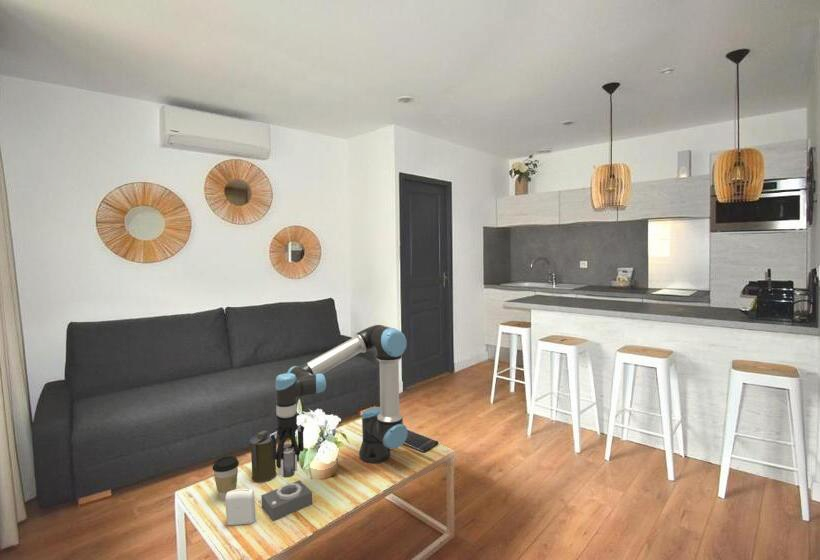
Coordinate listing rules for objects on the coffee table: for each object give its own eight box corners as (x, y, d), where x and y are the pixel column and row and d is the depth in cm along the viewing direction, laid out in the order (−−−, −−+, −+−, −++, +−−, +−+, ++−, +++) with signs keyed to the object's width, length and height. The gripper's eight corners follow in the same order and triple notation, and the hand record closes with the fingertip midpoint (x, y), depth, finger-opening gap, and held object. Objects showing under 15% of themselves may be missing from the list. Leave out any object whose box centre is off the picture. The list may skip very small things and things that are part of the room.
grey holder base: (300, 491, 174) (299, 477, 173) (312, 504, 165) (312, 489, 165) (261, 507, 164) (261, 492, 163) (272, 521, 155) (272, 505, 155)
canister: (262, 468, 193) (260, 426, 191) (281, 472, 189) (279, 429, 188) (245, 481, 182) (243, 436, 181) (265, 485, 179) (263, 439, 177)
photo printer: (224, 526, 152) (223, 494, 152) (228, 519, 157) (227, 487, 156) (254, 524, 153) (252, 492, 153) (257, 517, 158) (255, 485, 157)
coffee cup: (245, 494, 172) (243, 459, 171) (223, 506, 164) (221, 470, 163) (231, 487, 178) (229, 452, 177) (209, 498, 170) (207, 462, 169)
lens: (291, 469, 168) (290, 442, 167) (297, 474, 164) (296, 447, 163) (279, 473, 164) (278, 446, 163) (284, 479, 160) (283, 451, 160)
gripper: (303, 405, 171) (305, 461, 173) (259, 417, 159) (261, 476, 161) (312, 411, 165) (313, 468, 167) (267, 423, 154) (269, 484, 155)
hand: (288, 472), depth 164 cm, fingers closed on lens, 5 cm apart
